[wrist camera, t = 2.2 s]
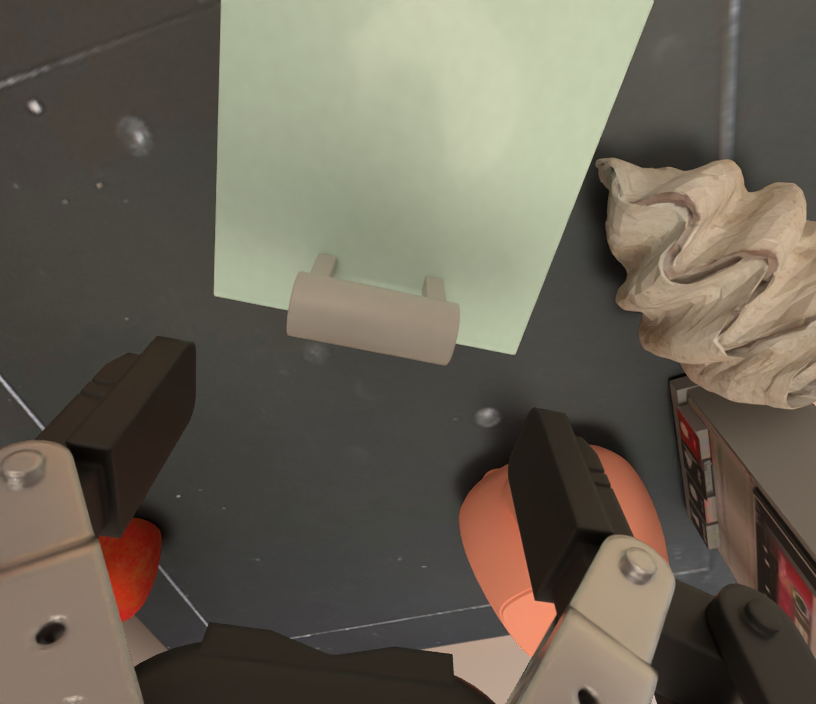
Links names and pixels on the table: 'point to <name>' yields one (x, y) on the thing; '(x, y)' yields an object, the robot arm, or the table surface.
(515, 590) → the teapot
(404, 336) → the lid
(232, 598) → the table surface
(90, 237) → the table surface
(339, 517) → the table surface
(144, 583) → the apple
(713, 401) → the cassette tape recorder
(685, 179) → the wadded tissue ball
